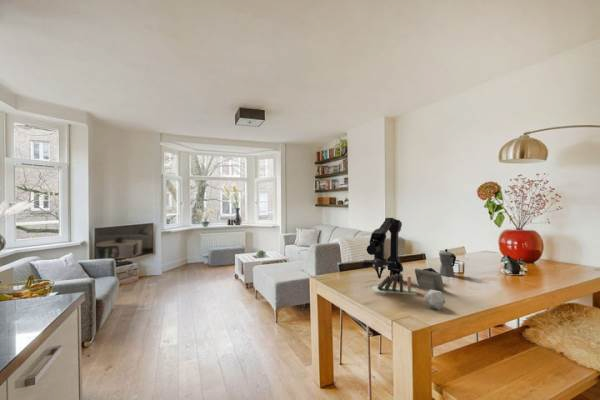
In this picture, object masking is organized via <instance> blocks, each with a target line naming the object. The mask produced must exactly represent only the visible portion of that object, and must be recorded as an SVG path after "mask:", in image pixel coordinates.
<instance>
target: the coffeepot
mask: <svg viewBox="0 0 600 400" xmlns="http://www.w3.org/2000/svg"><path fill="white" fill-rule="evenodd" d="M448 250H449V249H448V248H445V249H444V251H440V252H438V256H439V261H440V268H439V273H440V274H441V277H447V278H448V277H455V272H454V266H455V263H456V260H457V257H456V255H455V254H454V253H453V252H450V251H448Z"/></svg>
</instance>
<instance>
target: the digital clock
mask: <svg viewBox="0 0 600 400" xmlns="http://www.w3.org/2000/svg"><path fill="white" fill-rule="evenodd" d="M414 272H415V273H414V274H415V278H416V282H417V285H418V288H419V289H423V290H426V291H429V290H430V289H431V290H436V291H444V290H445V287H444V283H443V276H442V275H441V274H440V272H438V273H436V272H437V271H436V272H431V271H426V270H423V269H419V268H415V269H414Z"/></svg>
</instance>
